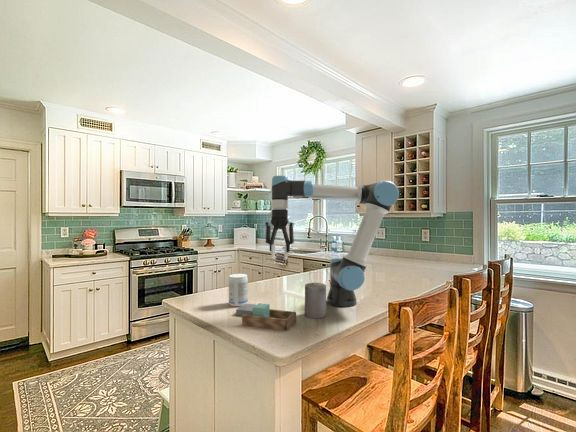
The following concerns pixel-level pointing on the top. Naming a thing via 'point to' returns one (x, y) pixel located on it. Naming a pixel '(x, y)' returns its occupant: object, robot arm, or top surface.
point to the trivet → (245, 309)
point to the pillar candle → (315, 300)
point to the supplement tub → (238, 290)
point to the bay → (271, 320)
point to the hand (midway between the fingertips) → (279, 258)
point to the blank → (261, 310)
